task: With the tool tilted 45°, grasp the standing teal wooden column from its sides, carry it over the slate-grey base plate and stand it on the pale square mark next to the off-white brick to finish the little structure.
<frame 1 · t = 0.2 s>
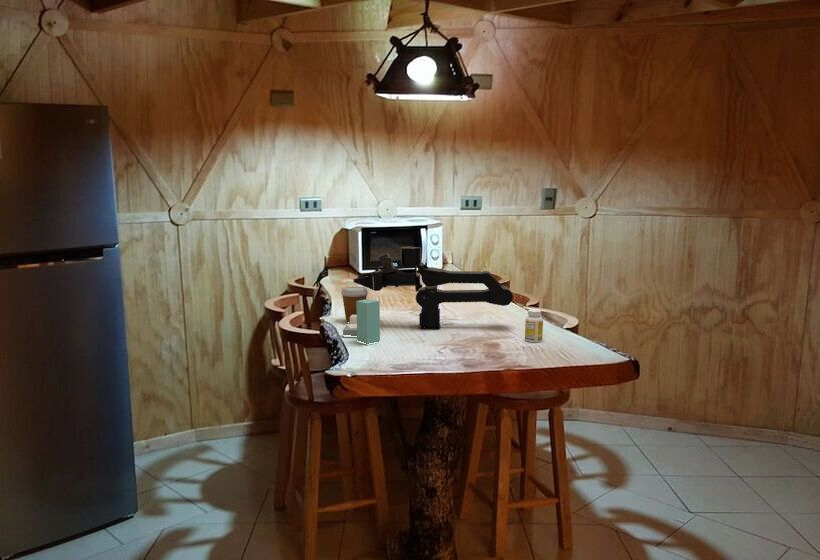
hand: (355, 278, 211), 16 cm above the table, tool horizontal, fingers open, 9 cm apart
supplement bottle: (533, 341, 194), on the table
base plate: (357, 332, 205), on the table
column: (368, 342, 193), on the table
disposable coffee cup: (355, 322, 220), on the table
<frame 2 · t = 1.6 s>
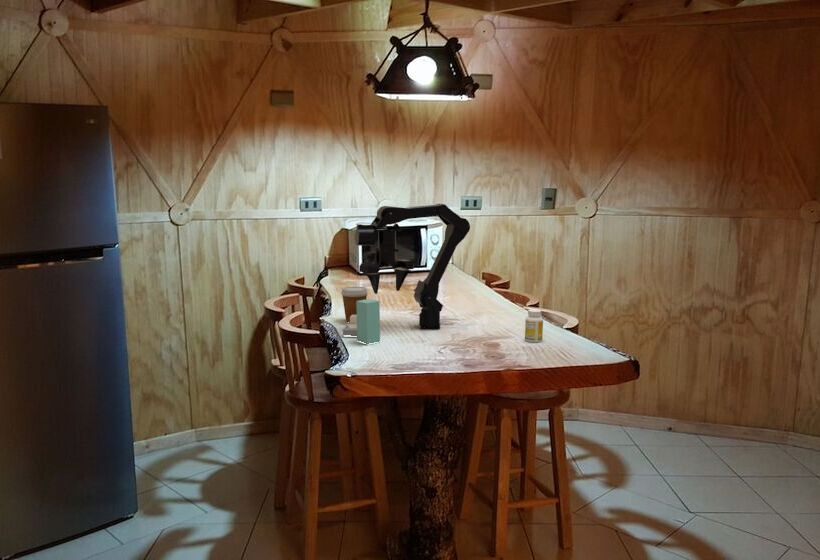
hand: (386, 292, 205), 13 cm above the table, tool pointing down, fingers open, 9 cm apart
nothing on the table moved.
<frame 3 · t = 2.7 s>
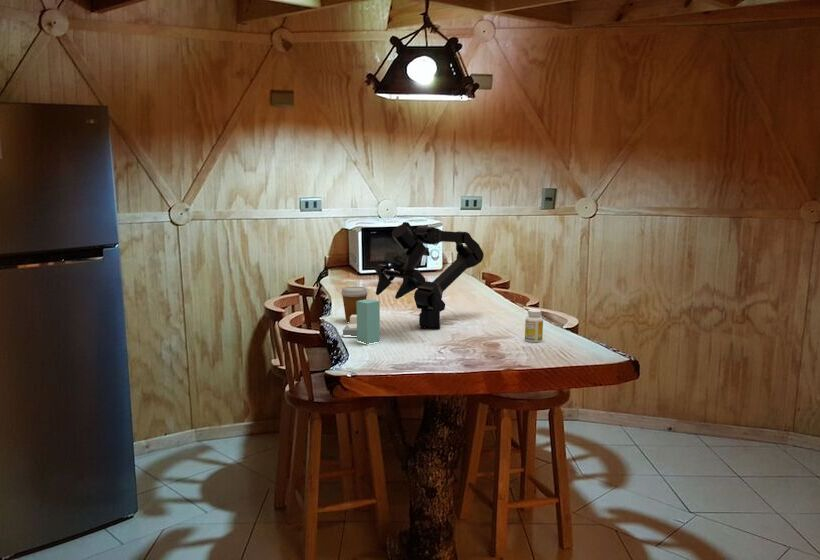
hand: (386, 296, 196), 13 cm above the table, tool tilted 45°, fingers open, 9 cm apart
nothing on the table moved.
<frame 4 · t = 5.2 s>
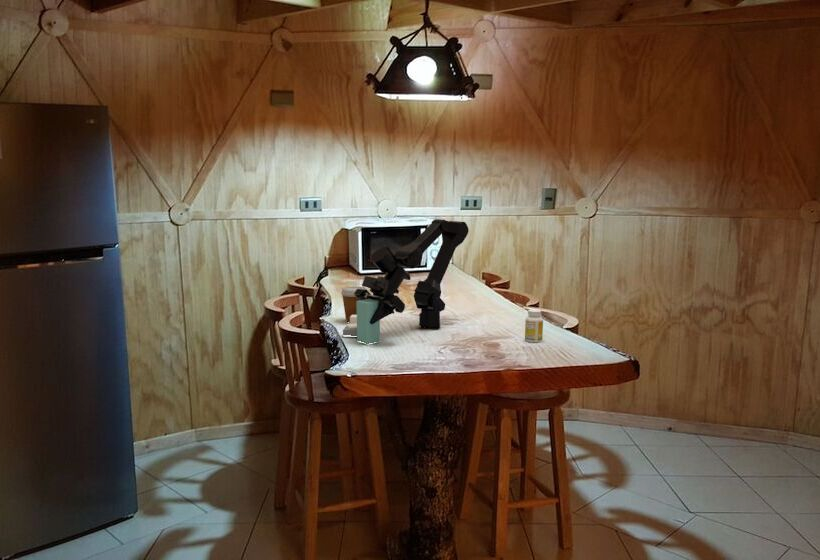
hand: (364, 322, 191), 7 cm above the table, tool tilted 45°, fingers closed on column, 5 cm apart
column: (368, 342, 193), on the table, touching gripper
everything else where it was.
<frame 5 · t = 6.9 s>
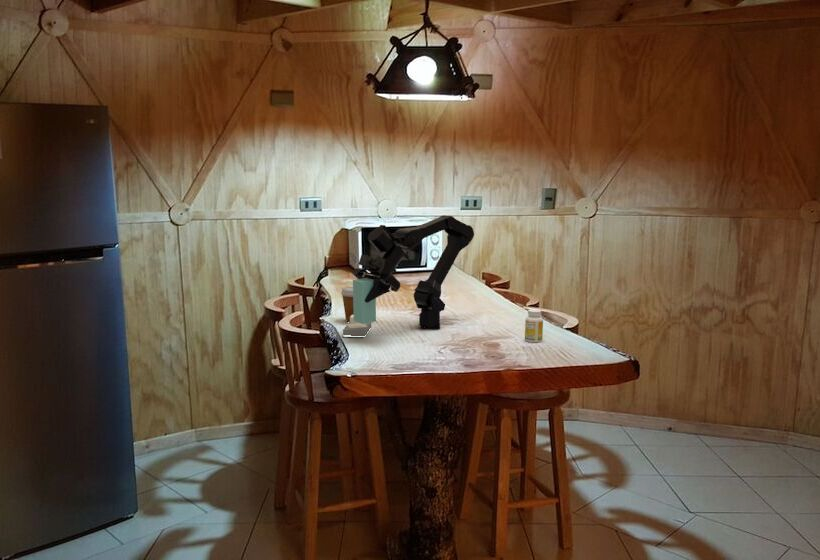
hand: (360, 300, 192), 13 cm above the table, tool tilted 45°, fingers closed on column, 5 cm apart
column: (364, 321, 194), point 6 cm above the table, touching gripper
everything else where it was.
when the fingers open (10 cm above the table, at t = 8.6 s): column stays where it is, resting on base plate.
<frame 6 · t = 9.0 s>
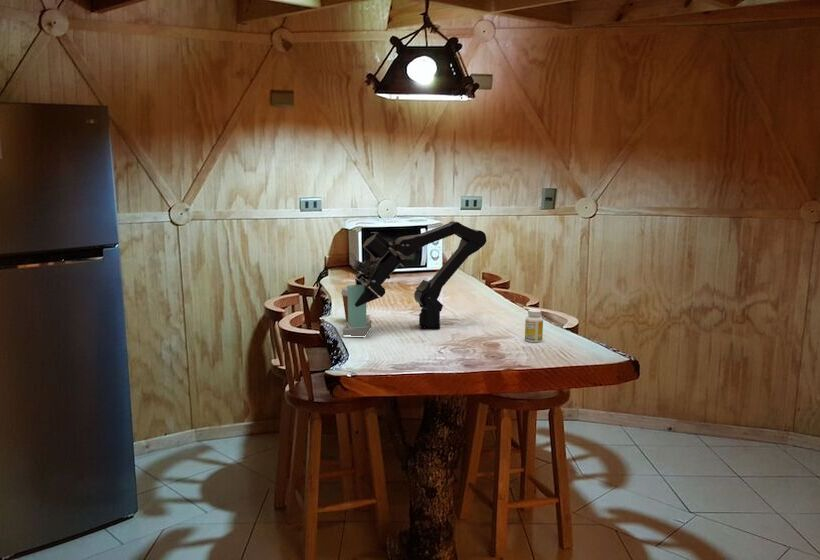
hand: (352, 303, 202), 10 cm above the table, tool tilted 45°, fingers open, 9 cm apart
column: (357, 325, 204), point 3 cm above the table, touching base plate
everything else where it was.
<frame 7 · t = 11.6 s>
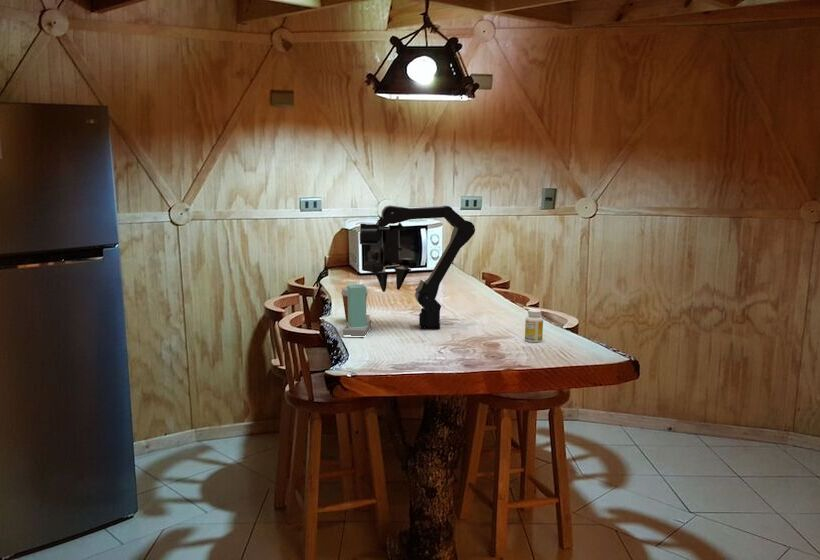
hand: (391, 290, 208), 13 cm above the table, tool pointing down, fingers open, 6 cm apart
nothing on the table moved.
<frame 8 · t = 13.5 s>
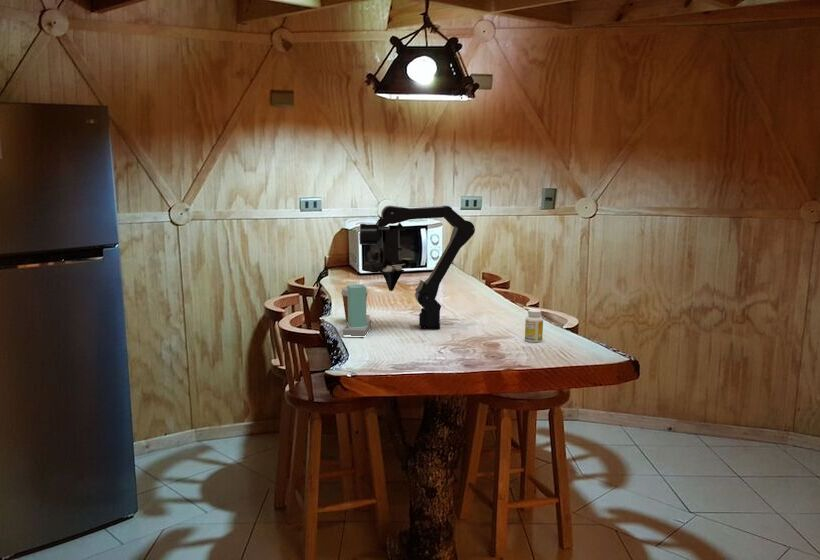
hand: (391, 290, 208), 13 cm above the table, tool pointing down, fingers closed
nothing on the table moved.
at the end: column 0.1 cm from the target spot on the base plate, point 2.6 cm above the base plate's base; column tilted 0°; the gripper is holding nothing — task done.
